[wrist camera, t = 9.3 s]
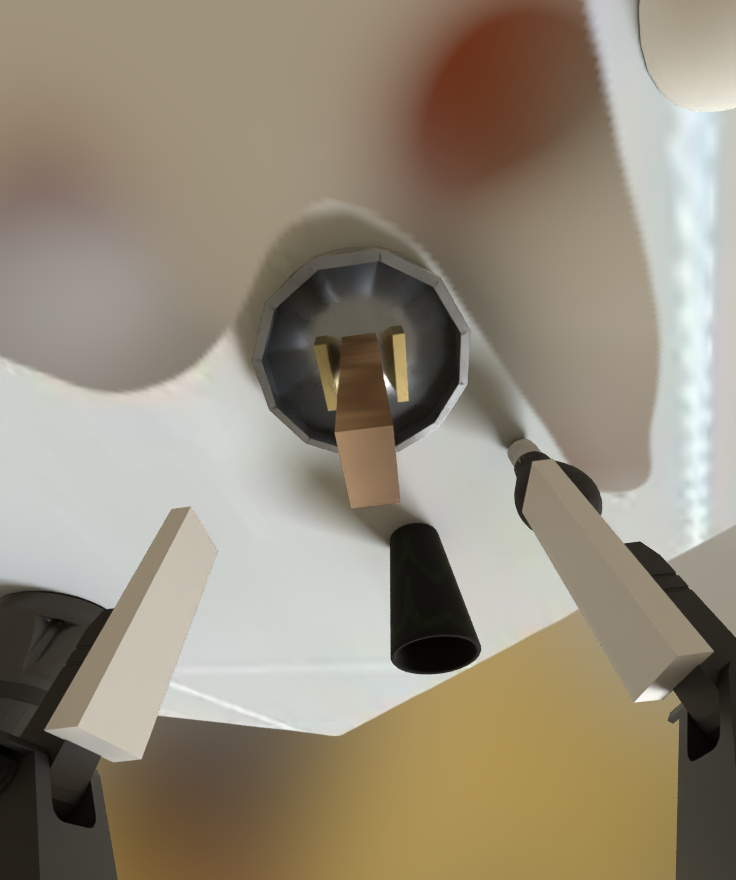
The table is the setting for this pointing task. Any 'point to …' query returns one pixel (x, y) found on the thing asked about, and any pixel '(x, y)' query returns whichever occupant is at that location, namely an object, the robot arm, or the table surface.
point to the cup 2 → (691, 51)
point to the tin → (354, 313)
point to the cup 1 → (427, 606)
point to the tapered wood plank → (365, 425)
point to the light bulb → (527, 452)
